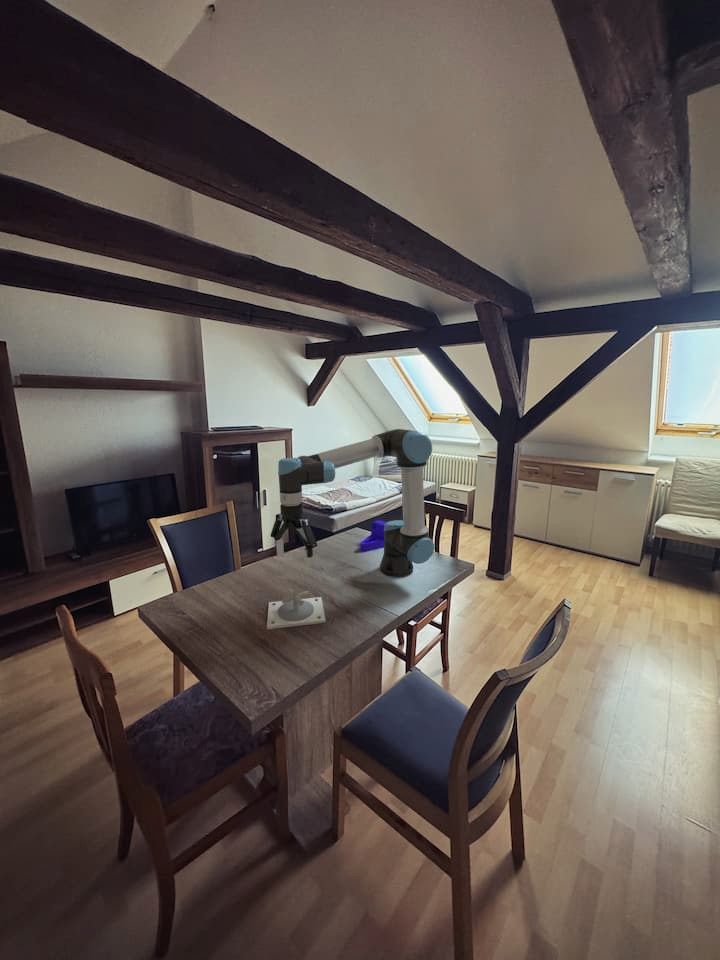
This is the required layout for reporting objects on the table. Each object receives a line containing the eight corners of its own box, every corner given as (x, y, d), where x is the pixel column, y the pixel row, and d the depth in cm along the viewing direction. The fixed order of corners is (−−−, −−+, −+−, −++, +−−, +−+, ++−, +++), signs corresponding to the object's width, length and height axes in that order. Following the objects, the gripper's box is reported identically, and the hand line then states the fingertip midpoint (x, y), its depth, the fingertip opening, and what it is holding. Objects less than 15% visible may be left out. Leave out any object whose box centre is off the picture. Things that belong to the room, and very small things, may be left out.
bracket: (376, 539, 211) (376, 519, 208) (391, 544, 203) (392, 523, 201) (353, 548, 198) (353, 527, 196) (369, 554, 191) (369, 532, 188)
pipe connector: (314, 611, 137) (313, 586, 135) (288, 620, 132) (287, 594, 130) (303, 599, 145) (301, 575, 143) (278, 607, 140) (276, 582, 138)
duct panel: (321, 599, 149) (321, 595, 148) (325, 622, 133) (325, 618, 133) (269, 604, 145) (268, 600, 145) (267, 629, 130) (266, 625, 129)
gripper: (258, 500, 134) (261, 556, 139) (311, 511, 120) (313, 573, 125) (274, 495, 140) (277, 549, 145) (326, 506, 126) (328, 565, 131)
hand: (294, 560), depth 135 cm, fingers open, 13 cm apart
